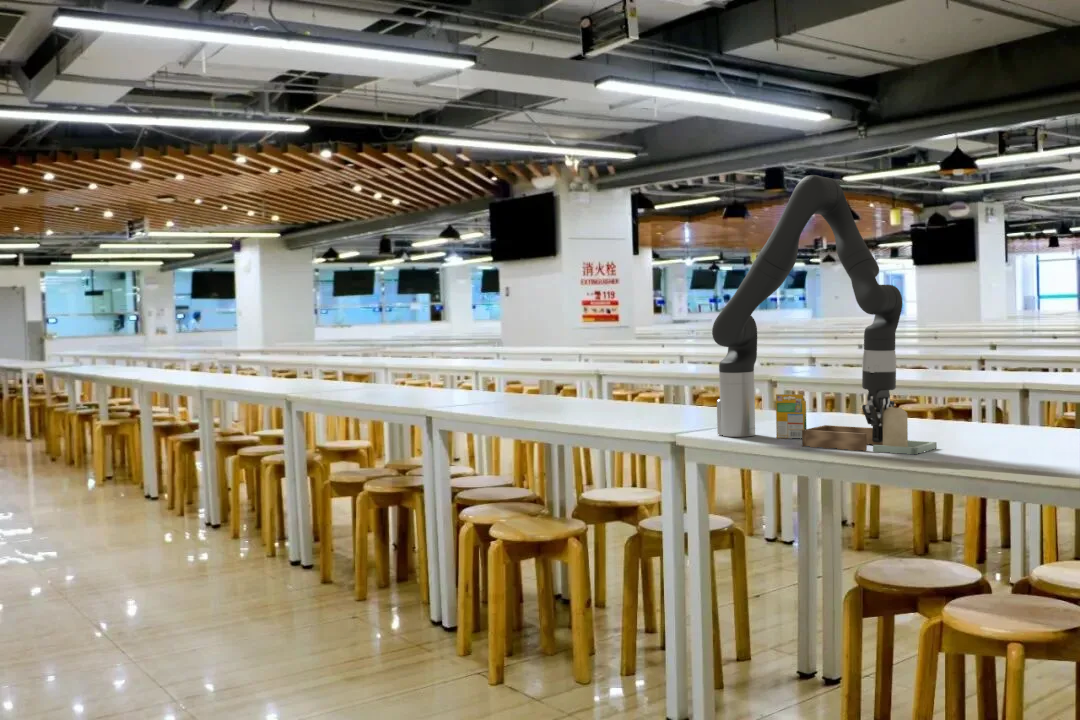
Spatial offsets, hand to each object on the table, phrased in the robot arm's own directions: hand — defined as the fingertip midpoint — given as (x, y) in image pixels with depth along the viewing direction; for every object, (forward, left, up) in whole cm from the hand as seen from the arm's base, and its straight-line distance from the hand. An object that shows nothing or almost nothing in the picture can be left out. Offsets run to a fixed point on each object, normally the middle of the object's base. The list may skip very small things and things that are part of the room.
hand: (878, 441), depth 229 cm
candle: (+4, 0, -2) cm, 4 cm away
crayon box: (-27, +7, -2) cm, 28 cm away
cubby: (-9, 0, -2) cm, 9 cm away
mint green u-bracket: (+6, 0, -2) cm, 7 cm away
